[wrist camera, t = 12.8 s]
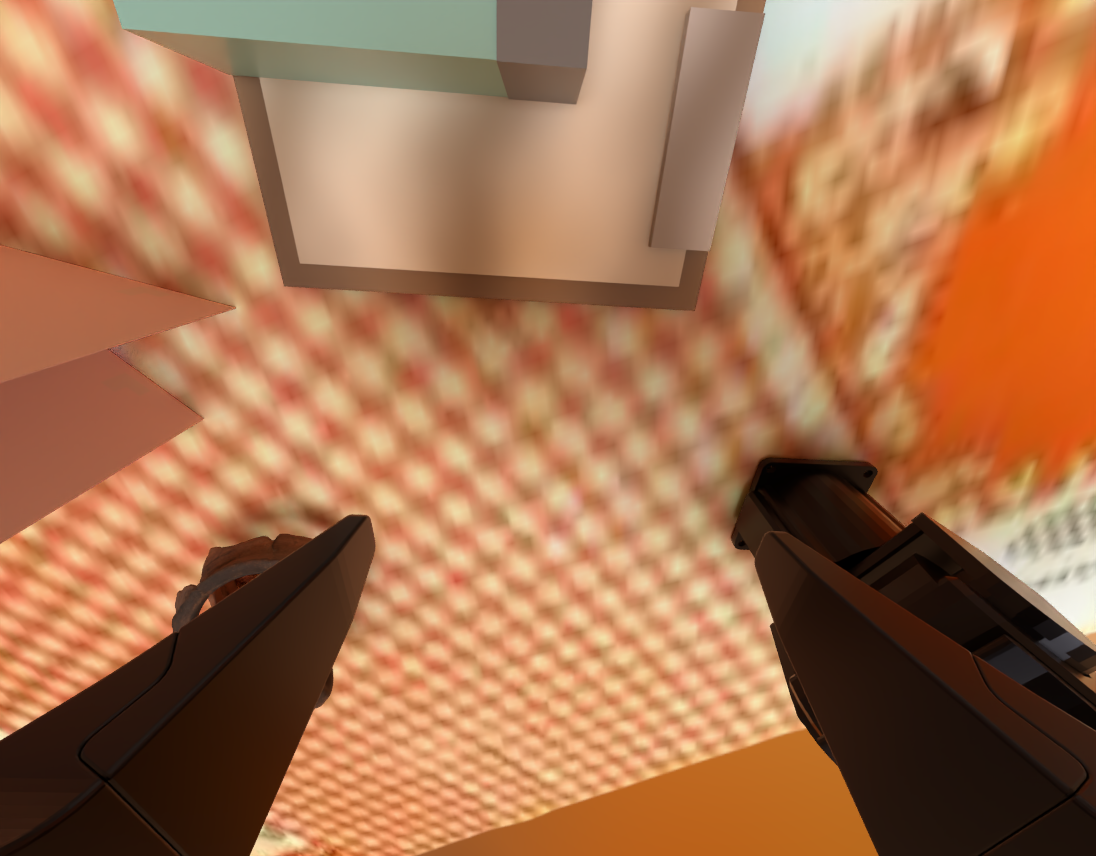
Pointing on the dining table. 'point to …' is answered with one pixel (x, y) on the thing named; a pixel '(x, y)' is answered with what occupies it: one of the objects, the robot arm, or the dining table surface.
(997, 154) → the dining table surface
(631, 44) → the clipboard
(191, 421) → the greeting card
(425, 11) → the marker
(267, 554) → the pottery mug
